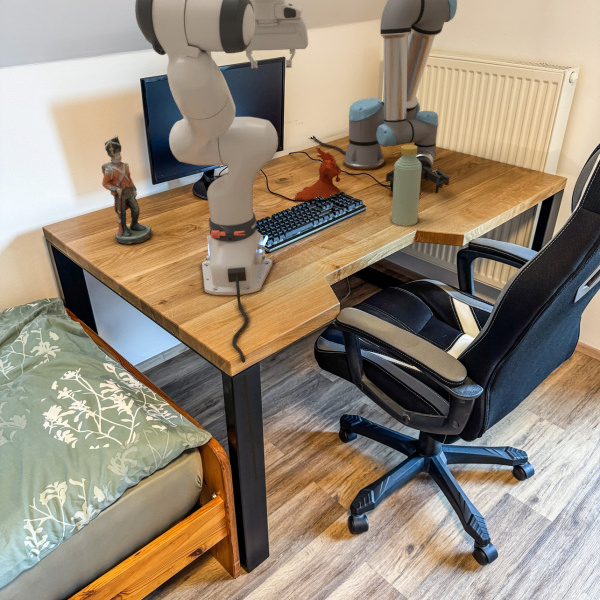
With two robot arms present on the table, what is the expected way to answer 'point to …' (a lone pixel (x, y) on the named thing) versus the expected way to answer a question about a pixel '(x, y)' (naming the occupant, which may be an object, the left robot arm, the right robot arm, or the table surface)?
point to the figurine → (123, 195)
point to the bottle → (406, 190)
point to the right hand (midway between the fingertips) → (414, 187)
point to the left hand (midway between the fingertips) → (271, 67)
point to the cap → (409, 150)
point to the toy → (323, 179)
